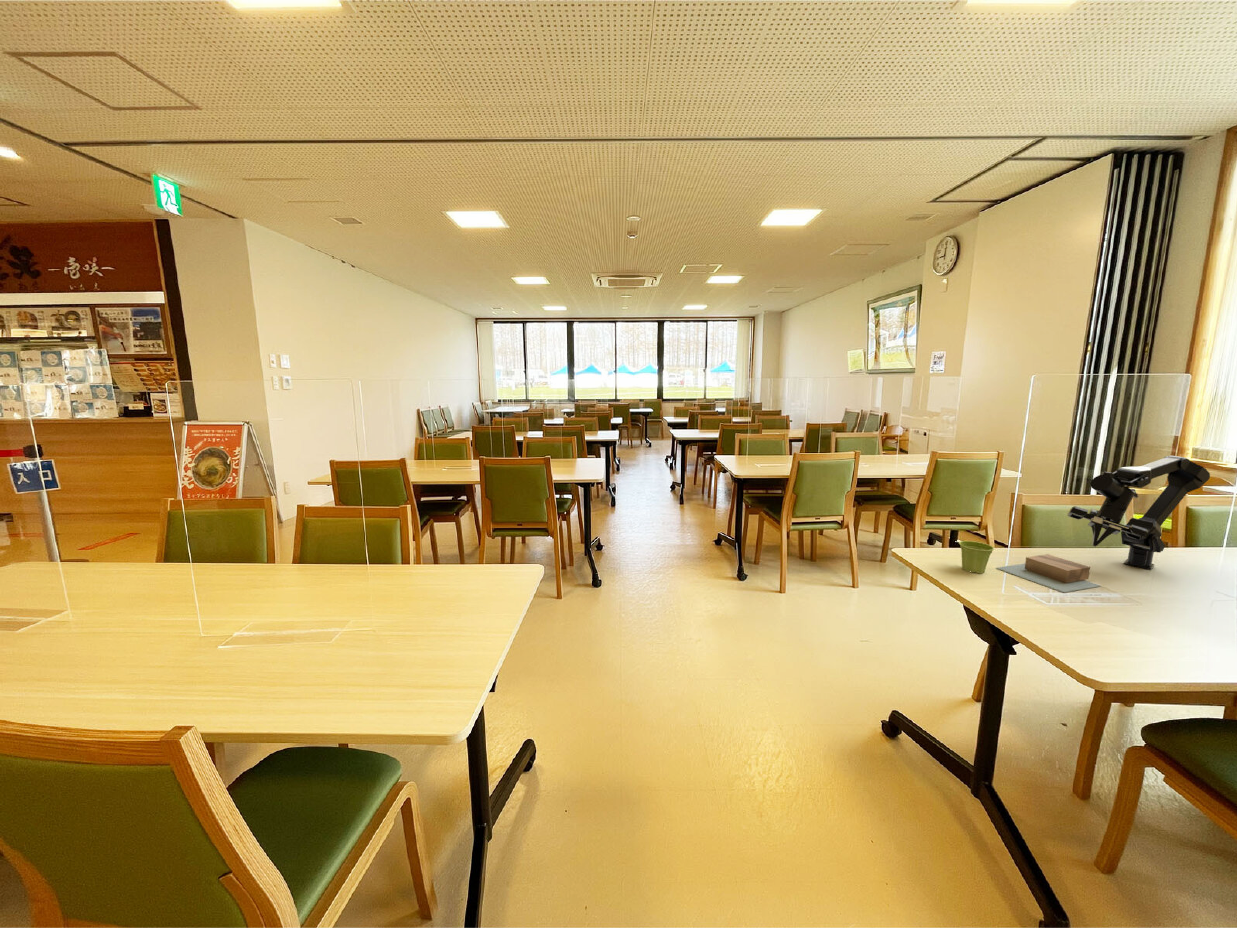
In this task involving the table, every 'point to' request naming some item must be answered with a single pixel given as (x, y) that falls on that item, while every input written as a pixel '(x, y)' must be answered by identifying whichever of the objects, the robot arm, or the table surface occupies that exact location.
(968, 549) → the plant pot
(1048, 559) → the walnut block
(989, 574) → the table surface
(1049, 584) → the mat
